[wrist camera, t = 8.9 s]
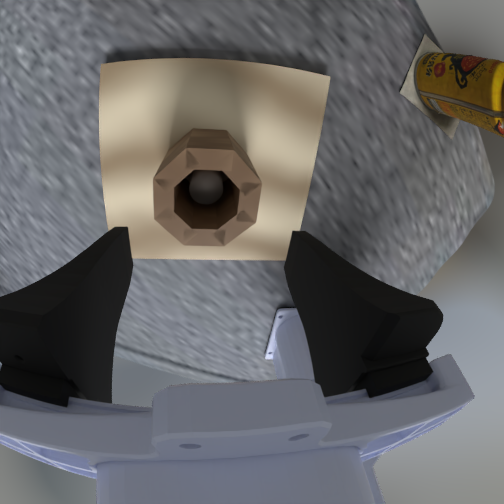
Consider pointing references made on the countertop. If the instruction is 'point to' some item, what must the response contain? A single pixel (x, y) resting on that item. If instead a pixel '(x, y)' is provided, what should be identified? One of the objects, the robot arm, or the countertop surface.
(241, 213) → the collar
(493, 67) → the condiment
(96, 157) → the countertop surface
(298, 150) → the post board
